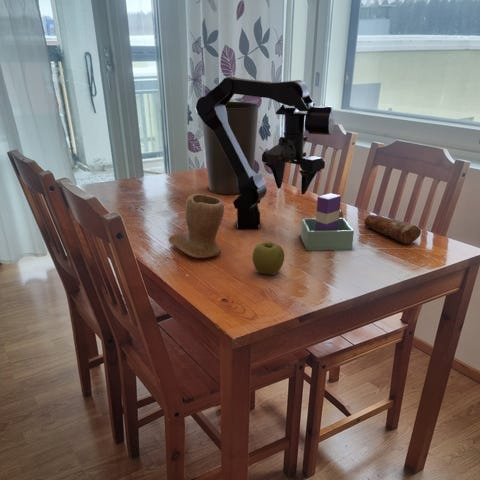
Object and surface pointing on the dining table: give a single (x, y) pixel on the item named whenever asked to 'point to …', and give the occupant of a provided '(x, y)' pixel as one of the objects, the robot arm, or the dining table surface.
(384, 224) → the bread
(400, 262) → the dining table surface
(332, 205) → the purple tall block
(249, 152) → the waste basket
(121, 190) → the dining table surface
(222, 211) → the stone cup
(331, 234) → the bin
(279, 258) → the apple
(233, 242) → the dining table surface
